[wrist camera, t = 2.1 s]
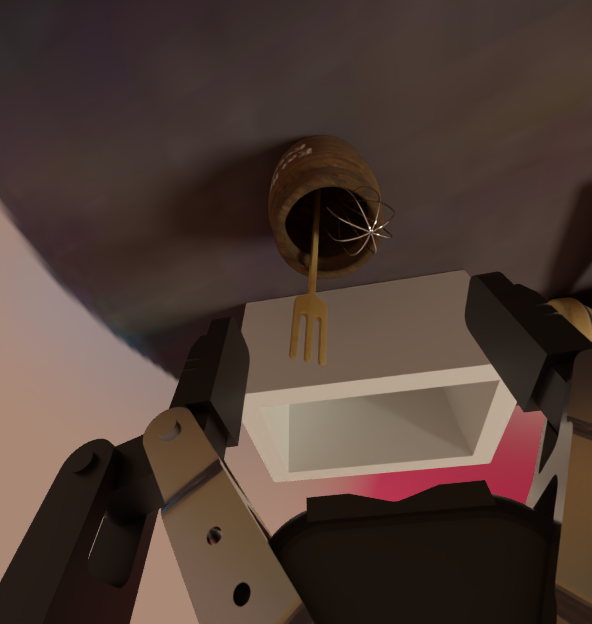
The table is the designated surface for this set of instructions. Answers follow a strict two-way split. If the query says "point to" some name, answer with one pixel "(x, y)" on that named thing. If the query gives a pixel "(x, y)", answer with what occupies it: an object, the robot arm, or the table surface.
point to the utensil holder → (323, 222)
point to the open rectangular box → (373, 383)
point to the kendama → (575, 314)
